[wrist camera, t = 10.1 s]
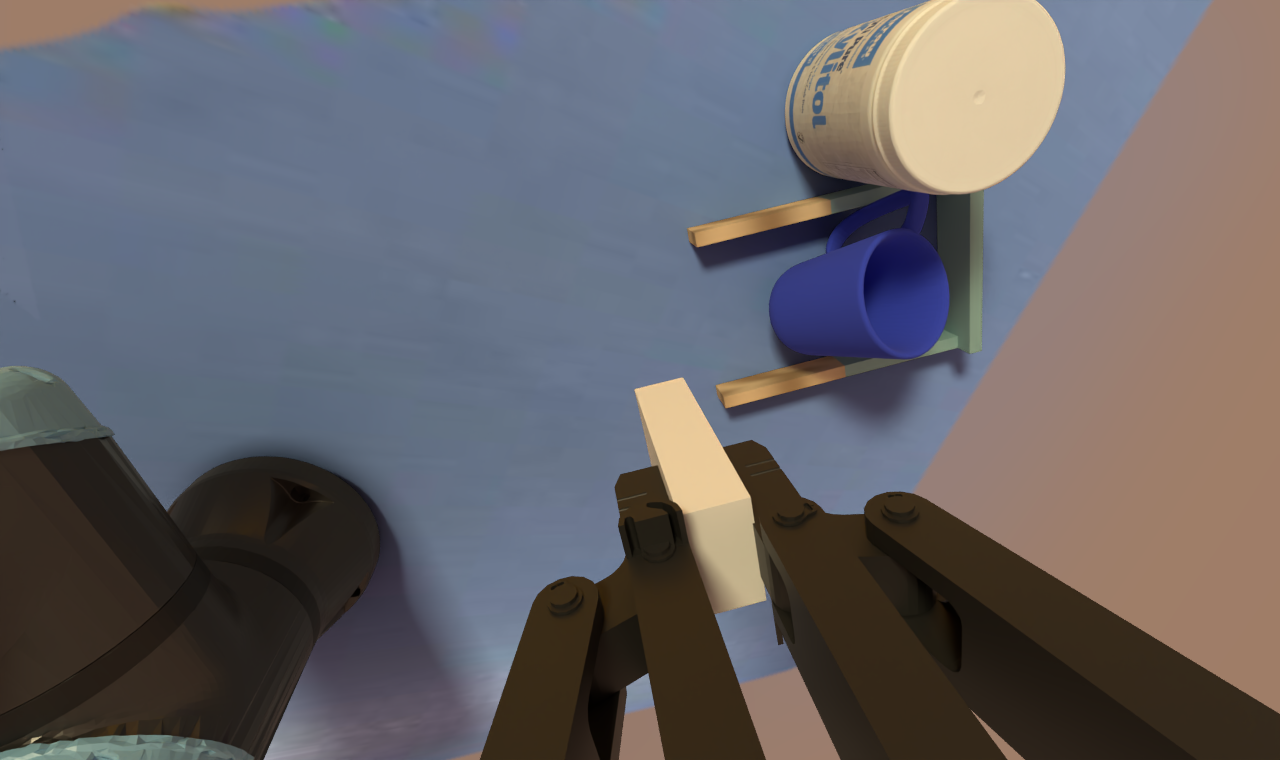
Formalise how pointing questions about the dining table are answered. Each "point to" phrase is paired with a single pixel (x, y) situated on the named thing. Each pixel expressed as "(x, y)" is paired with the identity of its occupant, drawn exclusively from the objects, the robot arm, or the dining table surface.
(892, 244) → the mug
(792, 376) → the flange rails
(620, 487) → the robot arm
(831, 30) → the dining table surface
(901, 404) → the dining table surface
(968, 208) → the pocket
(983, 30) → the supplement tub
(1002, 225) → the dining table surface
